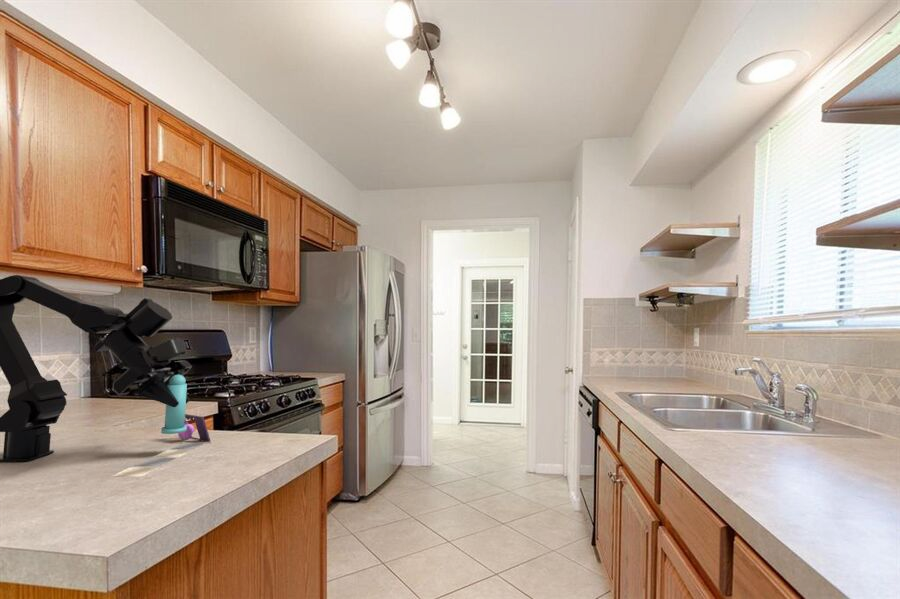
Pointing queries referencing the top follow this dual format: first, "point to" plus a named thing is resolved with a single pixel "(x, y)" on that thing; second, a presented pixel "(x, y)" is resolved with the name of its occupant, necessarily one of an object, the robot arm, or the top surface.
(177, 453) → the board
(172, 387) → the pawn
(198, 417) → the purple piece
